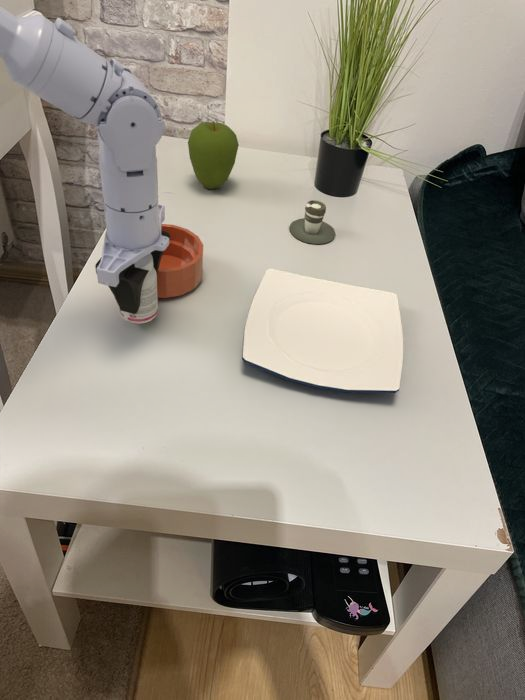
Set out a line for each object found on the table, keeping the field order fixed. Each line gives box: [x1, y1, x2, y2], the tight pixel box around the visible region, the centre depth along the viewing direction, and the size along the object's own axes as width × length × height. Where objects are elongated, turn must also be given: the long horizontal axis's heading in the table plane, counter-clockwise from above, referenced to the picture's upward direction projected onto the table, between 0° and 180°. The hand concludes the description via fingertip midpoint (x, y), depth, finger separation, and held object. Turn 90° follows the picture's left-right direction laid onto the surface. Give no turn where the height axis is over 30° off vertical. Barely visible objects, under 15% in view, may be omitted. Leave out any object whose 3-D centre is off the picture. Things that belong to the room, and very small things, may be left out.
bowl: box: [157, 223, 204, 299], centre depth 73 cm, size 11×11×5 cm
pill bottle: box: [119, 253, 159, 325], centre depth 64 cm, size 5×5×8 cm
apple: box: [187, 121, 240, 190], centre depth 90 cm, size 9×8×12 cm
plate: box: [241, 268, 404, 394], centre depth 68 cm, size 20×20×3 cm
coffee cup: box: [288, 199, 336, 245], centre depth 86 cm, size 12×12×5 cm
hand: (137, 297), depth 65 cm, fingers closed on pill bottle, 5 cm apart
